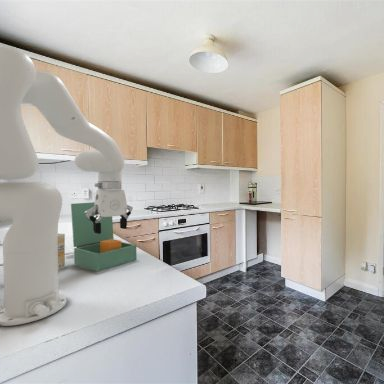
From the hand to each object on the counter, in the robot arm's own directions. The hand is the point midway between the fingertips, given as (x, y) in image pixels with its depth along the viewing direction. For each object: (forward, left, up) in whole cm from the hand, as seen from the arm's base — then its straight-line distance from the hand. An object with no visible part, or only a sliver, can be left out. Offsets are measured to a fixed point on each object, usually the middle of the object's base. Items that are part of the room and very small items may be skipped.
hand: (111, 230), depth 89 cm
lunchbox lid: (+11, 0, +2) cm, 11 cm away
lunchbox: (+3, 0, -13) cm, 13 cm away
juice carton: (0, 0, -12) cm, 12 cm away
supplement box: (+11, +15, -13) cm, 23 cm away
